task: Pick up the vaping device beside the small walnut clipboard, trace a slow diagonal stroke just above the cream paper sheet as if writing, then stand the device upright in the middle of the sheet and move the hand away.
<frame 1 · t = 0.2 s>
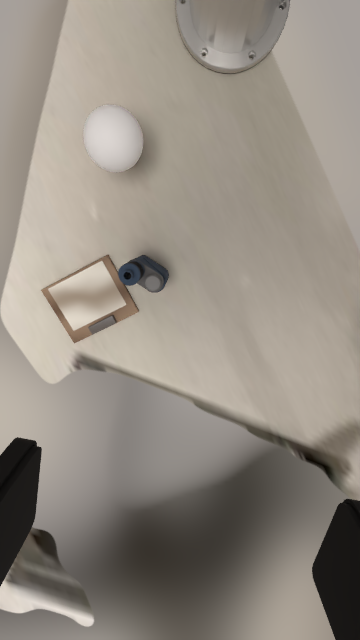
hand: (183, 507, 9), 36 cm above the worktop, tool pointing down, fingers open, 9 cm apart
clipboard: (91, 300, 45), on the worktop
lightbulb: (128, 157, 40), on the worktop
vaping device: (151, 269, 44), on the worktop
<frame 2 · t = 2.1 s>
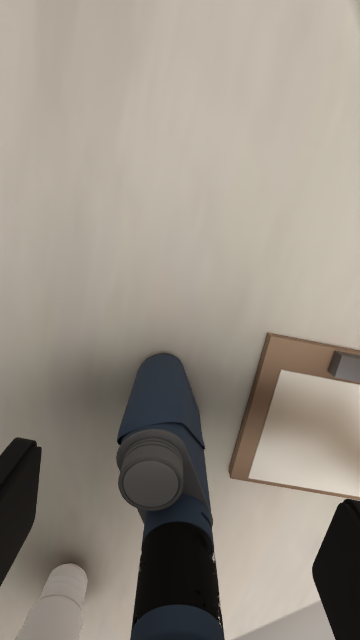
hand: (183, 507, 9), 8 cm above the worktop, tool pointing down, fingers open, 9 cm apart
clipboard: (338, 422, 18), on the worktop
lightbulb: (73, 564, 21), on the worktop
vaping device: (170, 390, 18), on the worktop
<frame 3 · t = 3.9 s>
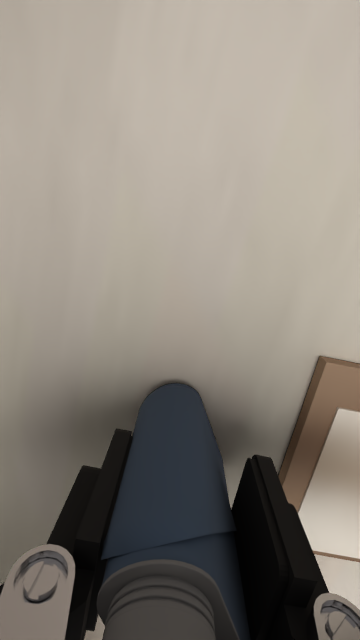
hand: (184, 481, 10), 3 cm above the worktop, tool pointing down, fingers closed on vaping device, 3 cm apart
vaping device: (184, 429, 13), on the worktop, touching gripper
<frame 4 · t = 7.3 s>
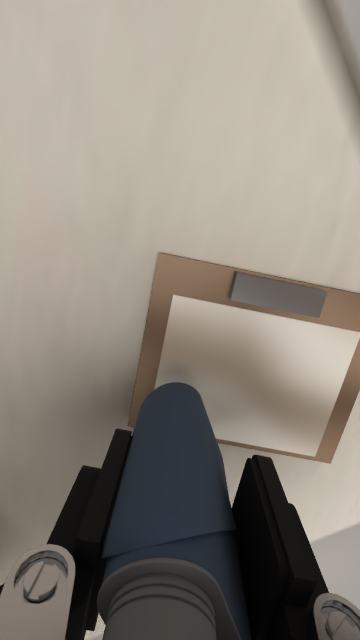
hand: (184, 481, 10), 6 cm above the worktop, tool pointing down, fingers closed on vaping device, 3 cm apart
clipboard: (249, 362, 16), on the worktop
vaping device: (184, 428, 13), point 3 cm above the worktop, touching gripper
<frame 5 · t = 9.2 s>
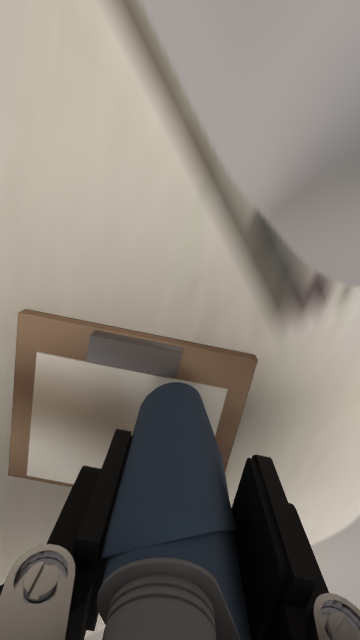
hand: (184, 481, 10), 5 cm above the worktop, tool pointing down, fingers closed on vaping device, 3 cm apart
clipboard: (126, 414, 16), on the worktop
vaping device: (184, 428, 13), point 2 cm above the worktop, touching gripper
when the fingers open (4 cm above the worktop, at t = 10.8 s): vaping device stays where it is, resting on clipboard.
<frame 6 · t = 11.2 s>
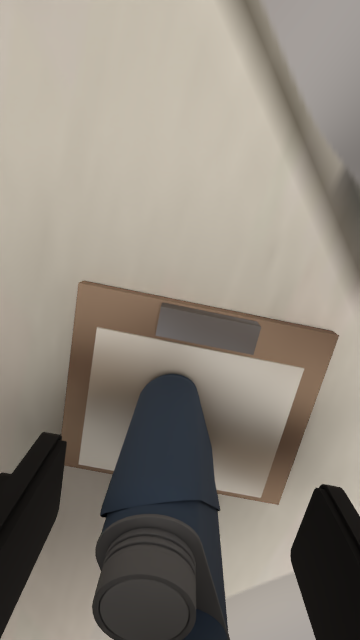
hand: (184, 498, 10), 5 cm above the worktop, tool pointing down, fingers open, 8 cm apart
clipboard: (188, 397, 15), on the worktop
vaping device: (179, 418, 14), point 1 cm above the worktop, touching clipboard
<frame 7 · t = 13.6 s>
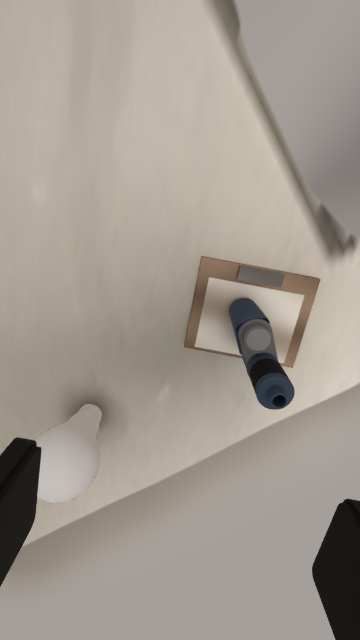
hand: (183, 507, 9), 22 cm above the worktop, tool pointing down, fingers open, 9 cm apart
clipboard: (248, 313, 30), on the worktop
lightbulb: (93, 408, 34), on the worktop
vaping device: (244, 321, 30), point 1 cm above the worktop, touching clipboard
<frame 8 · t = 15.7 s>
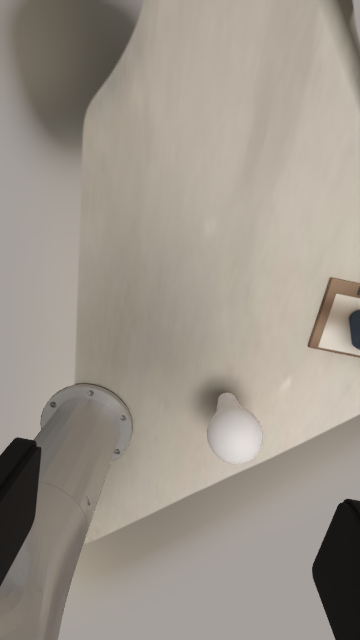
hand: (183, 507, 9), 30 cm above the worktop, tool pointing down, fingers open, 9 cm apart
lightbulb: (225, 397, 42), on the worktop
vaping device: (358, 328, 39), point 1 cm above the worktop, touching clipboard
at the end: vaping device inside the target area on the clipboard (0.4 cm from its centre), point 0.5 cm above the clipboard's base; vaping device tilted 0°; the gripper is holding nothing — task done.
